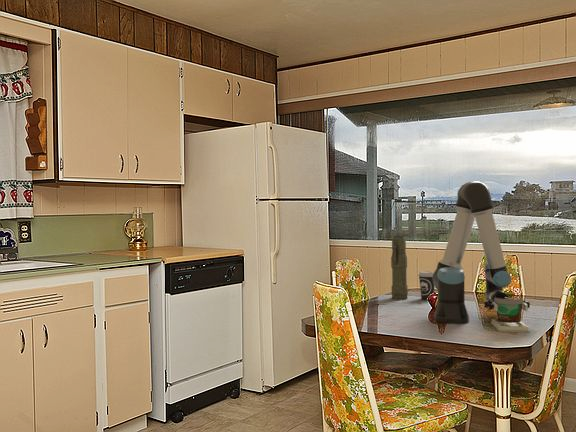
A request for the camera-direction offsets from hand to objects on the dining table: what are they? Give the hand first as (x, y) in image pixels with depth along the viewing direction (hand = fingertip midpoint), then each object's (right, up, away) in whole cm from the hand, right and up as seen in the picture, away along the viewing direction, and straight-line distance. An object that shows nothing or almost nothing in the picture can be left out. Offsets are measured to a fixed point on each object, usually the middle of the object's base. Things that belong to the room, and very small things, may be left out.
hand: (511, 308), depth 246 cm
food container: (0, -7, +4) cm, 8 cm away
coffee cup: (-17, -8, +79) cm, 81 cm away
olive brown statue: (-31, -8, +83) cm, 89 cm away
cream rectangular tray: (0, -9, +4) cm, 10 cm away
